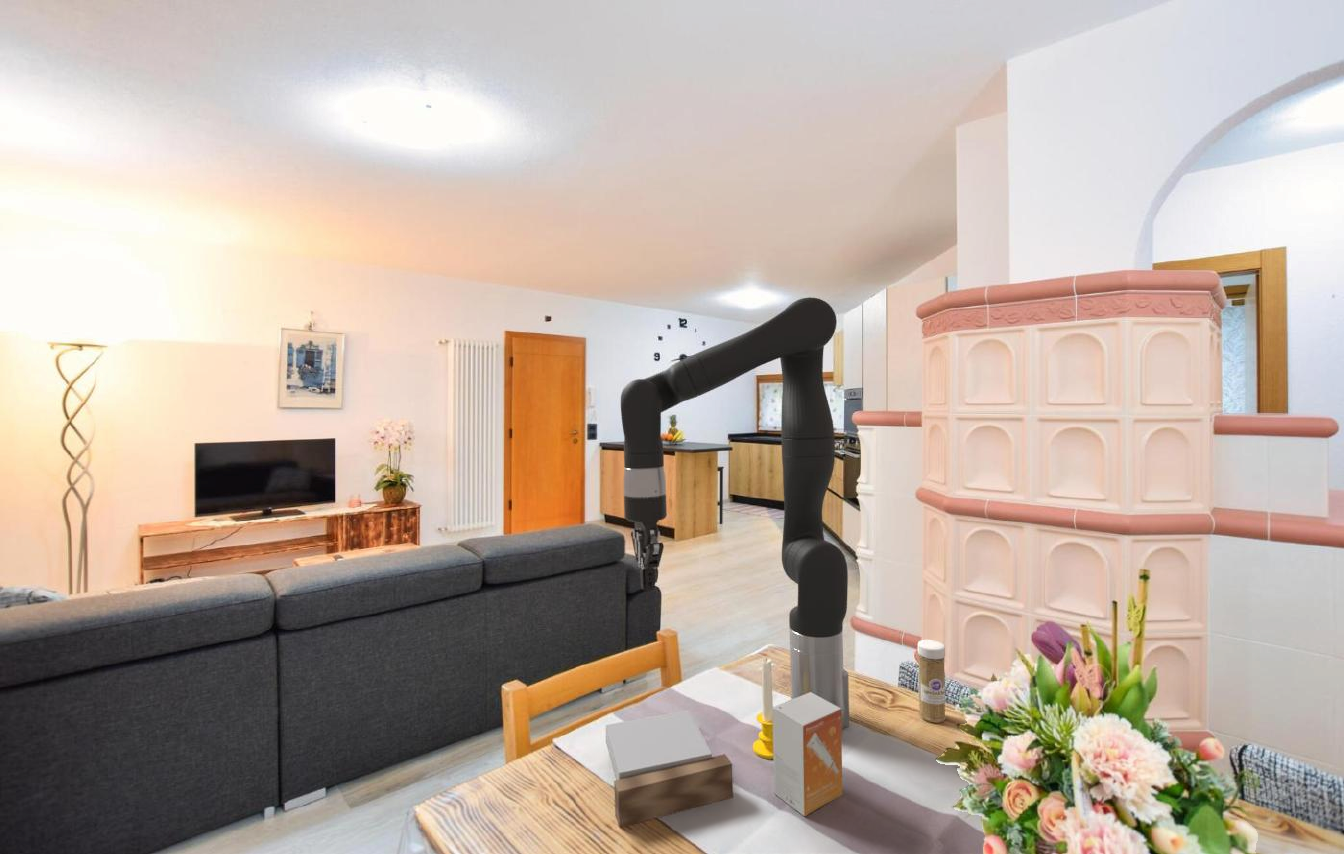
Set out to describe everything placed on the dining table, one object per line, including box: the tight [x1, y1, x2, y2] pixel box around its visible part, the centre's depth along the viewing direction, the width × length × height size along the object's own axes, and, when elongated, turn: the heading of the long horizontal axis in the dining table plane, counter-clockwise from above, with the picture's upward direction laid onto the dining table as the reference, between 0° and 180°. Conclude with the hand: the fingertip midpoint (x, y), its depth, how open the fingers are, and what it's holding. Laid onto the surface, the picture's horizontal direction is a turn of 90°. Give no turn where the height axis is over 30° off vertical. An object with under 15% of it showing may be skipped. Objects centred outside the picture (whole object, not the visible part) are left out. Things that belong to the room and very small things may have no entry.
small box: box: [772, 692, 843, 817], centre depth 85 cm, size 8×6×13 cm
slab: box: [605, 709, 713, 780], centre depth 90 cm, size 14×11×3 cm
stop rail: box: [613, 753, 734, 828], centre depth 83 cm, size 17×2×5 cm, turn 109°
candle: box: [752, 657, 774, 760], centre depth 96 cm, size 5×5×16 cm
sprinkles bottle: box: [917, 639, 947, 724], centre depth 104 cm, size 5×5×14 cm
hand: (647, 588), depth 103 cm, fingers closed
